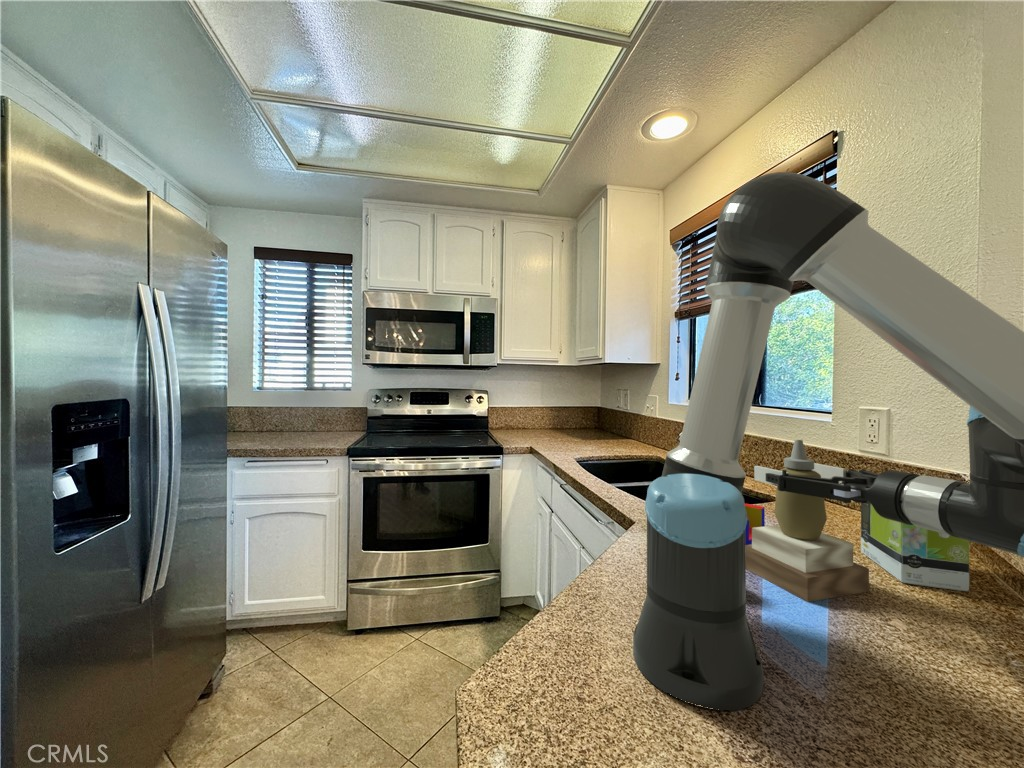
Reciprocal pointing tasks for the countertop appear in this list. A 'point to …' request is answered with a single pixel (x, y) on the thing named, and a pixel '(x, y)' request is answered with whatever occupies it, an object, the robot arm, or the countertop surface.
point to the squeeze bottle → (800, 500)
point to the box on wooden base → (806, 564)
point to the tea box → (914, 552)
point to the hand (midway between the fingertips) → (783, 470)
